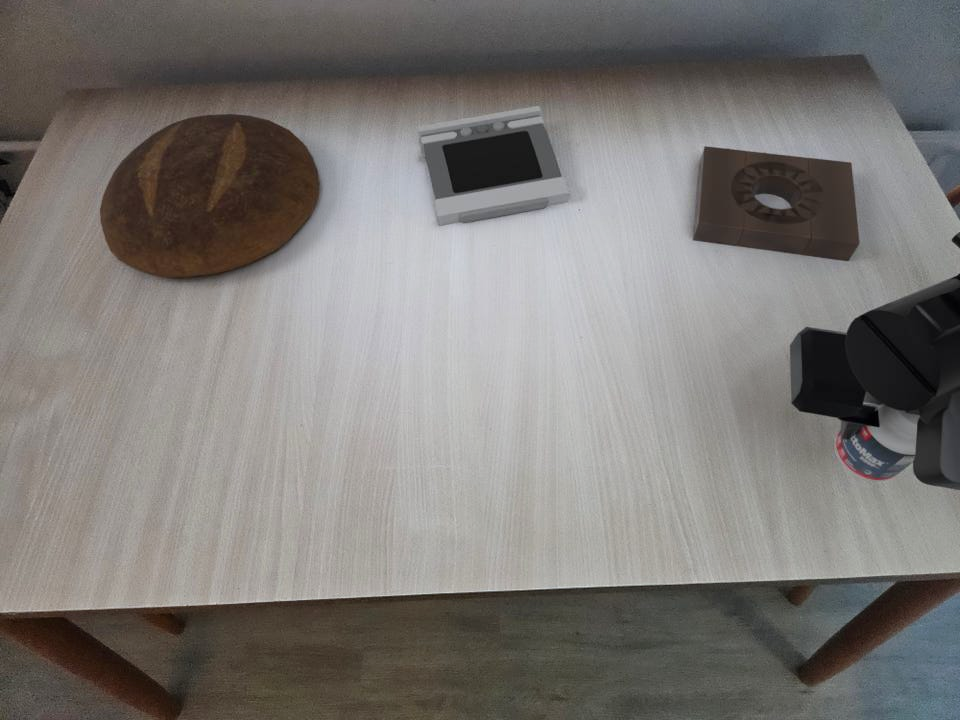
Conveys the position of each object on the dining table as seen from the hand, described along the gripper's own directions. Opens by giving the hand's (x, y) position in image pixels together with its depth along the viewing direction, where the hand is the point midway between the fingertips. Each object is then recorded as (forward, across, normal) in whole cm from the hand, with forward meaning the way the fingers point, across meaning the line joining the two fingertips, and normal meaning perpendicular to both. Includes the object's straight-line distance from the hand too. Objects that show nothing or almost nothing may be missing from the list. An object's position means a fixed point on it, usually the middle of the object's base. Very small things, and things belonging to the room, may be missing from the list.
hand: (880, 440), depth 52 cm
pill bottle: (+3, 0, 0) cm, 3 cm away
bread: (+12, -76, +24) cm, 81 cm away
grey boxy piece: (+12, -41, +37) cm, 57 cm away
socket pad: (+12, -5, +37) cm, 39 cm away
